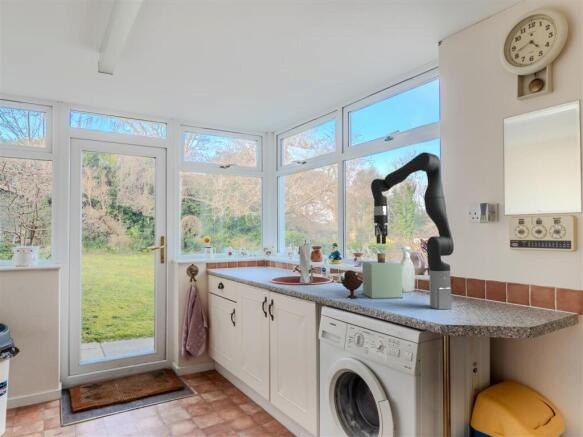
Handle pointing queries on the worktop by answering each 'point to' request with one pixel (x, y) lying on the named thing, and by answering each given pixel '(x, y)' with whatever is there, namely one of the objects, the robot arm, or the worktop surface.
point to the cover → (382, 278)
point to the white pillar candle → (305, 264)
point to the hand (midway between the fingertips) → (381, 243)
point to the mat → (382, 298)
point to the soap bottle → (407, 272)
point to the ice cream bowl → (351, 283)
